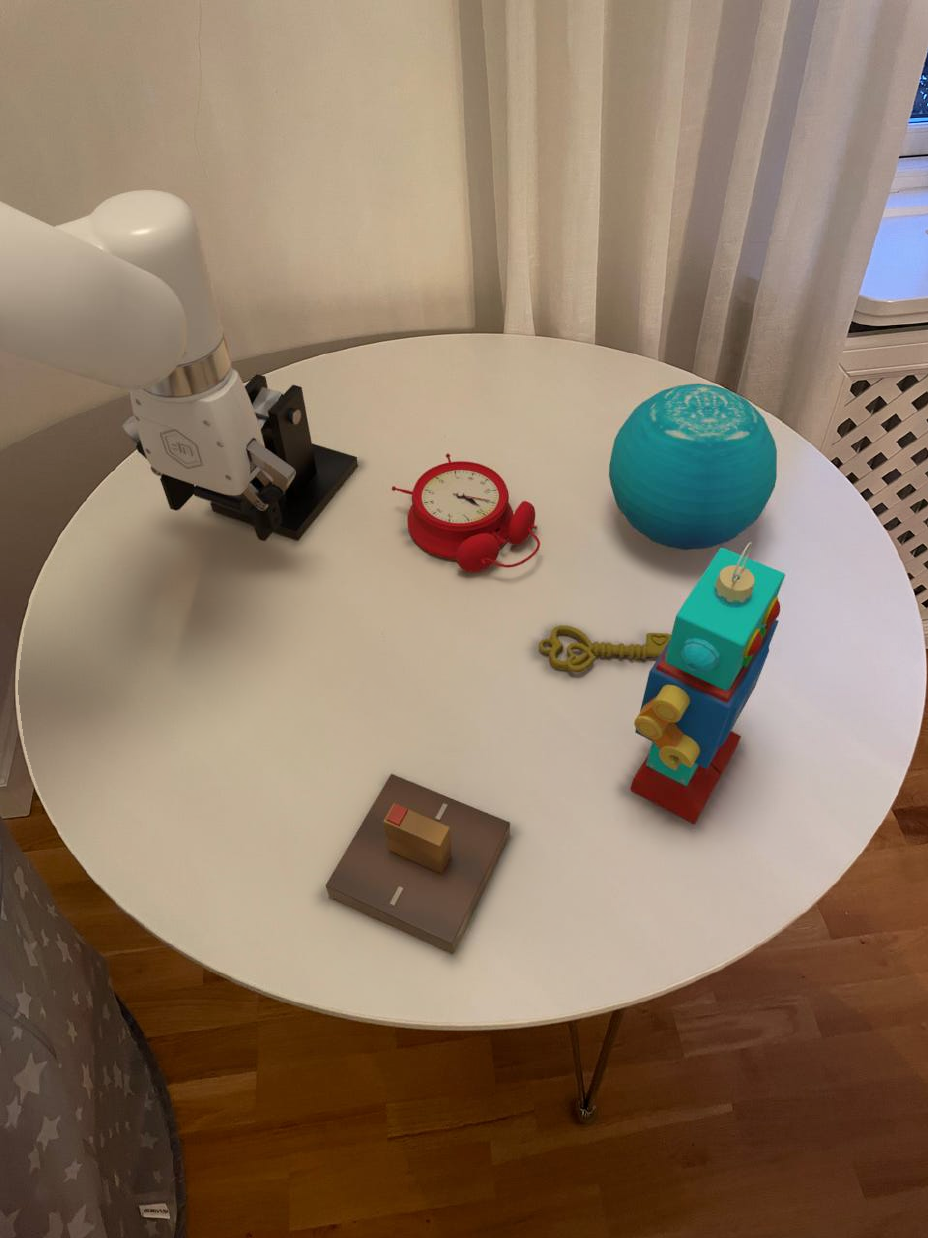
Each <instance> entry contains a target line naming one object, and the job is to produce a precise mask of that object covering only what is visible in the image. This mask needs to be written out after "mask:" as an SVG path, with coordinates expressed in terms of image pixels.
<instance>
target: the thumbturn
mask: <svg viewBox="0 0 928 1238" xmlns="http://www.w3.org/2000/svg"><path fill="white" fill-rule="evenodd" d="M383 822H384V828H385V834H386V840H387V845H388V850H389V851H392V852H394V853H396V854H398V855H401V856H403V857H405V858H407V859H409V860H412V861H414V862H416V863H418V864H421V865H423V866H425V867H427V868H429V869H432V870H434V871H436V872H438V873H441V874H442V873H443V871H444V869H445V868H446V866H447V864H448V862H449V860H450V858H451V839H450V827H448V826H446V825H444V824H441V823H439V822H437V821H434V820H432V819H430V818H428V817H425V816H423V815H421V814H418V813H416V812H414V811H411V810H409V809H407V808H404V807H402V806H400V805H397V804H395V803H394V804H393V805H392V807H391V809H390V810H389V812H388V814H387V816H386V817H385V819H384V821H383Z"/></svg>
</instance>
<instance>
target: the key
mask: <svg viewBox="0 0 928 1238" xmlns="http://www.w3.org/2000/svg"><path fill="white" fill-rule="evenodd" d="M645 635H646V637H645V638H646V639H645V640H646V644H642V645H641V644H639V643H637V644H636V645H635V644H634V643H630V644H629V645H625V644H624V643H623V642H620V643H619V644H612V642H605V641H602V642H600V643H599V641H593V643H592V641H591V640H590V639H589V637H588V636H587V635H586V634H585V633H584V632H583V631H582V630H580V629H578V628H576V627H573V626H571V625H557V626H555V627H553V628H552V630H551V632H550V635H549V636H550V637H549V638H543V639H542V640H541V641H540V642H539V644H538V648H539V651H540V652H541V653H542V654H545V655H549V656H548V657H549V658H548V660H549V664H550V666H551V667H552V668H553V669H555V670H558V671H570V672H571V673H582V672H584V671H585V670H587V669H588V668H589V667H591V665H592V664H593V663H594V662H595V661H596V657H598V656H599V655H600V657H601V658H604V657H606V658H611V656H612V655H613V656H618V658H620V659H622V658H624V656H628V658H629V659H631V660H632V659H634V658H635V659H636V660H640V659H641V660H647V658H649V657H650V658H659V656H660V655H661V653H662V651H663V650H664V648H665V647H666V645H667V644H668V642H669V641H670V638H671V634H670V633H665V632H647V633H646V634H645ZM558 636H568V637H571V638H574V639H576V640H577V641H578V642H575V641H574V642H570V643H569V644H568V646H567V647H566V654H567V656H568V658H567V660H559V659H558V658H557V656H558V655H559V654H560V653H561V652H563V649H564V645H563V643H562V642H561V641H560V640H559V639H558ZM546 645H550V646H551V647H550V648H545V647H544V646H546ZM573 650H578V651H581V652H582V653H581V654H580V655H578V656H576V654H575V653H574V652H573Z"/></svg>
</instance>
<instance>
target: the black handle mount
mask: <svg viewBox="0 0 928 1238" xmlns="http://www.w3.org/2000/svg"><path fill="white" fill-rule="evenodd" d="M244 387H245V389H246V391H247V394H248V396H249V398H250V401H251V403H252V404H253V402H254V401H255V399H256V397H257V395H258V394H259V392H260V390H261V389H262V387H264V388H268V389H269V387H268V382H267V377H266V376H265V375H261V374H258V373H256V374H255V375H254V376H253V377H252V378H251V379H250V380H249V381H248V382H246V384H244ZM268 416H269V420H270V425H271V429H269V428H268V429H267V431H266V433H265V434H264V436H263V441H264V446H265V448H266V449H268V450H269V451H270V452H272V453H273V454H275V455H276V456H277V457H279V458H280V459H282V460H283V461H284V462H286V463H287V464H289V465H290V466H291V467H293V468H294V469H295V471H296V474H295V477H294V479H293V481H292V483H291V484H290V487H289V488H288V490H287V491H286V492H285V493H284V494H283V495H282V497H281V498H280V499H279V500H278V503H279V508H280V512H281V516H282V522H281V524H280V526H279V527H278V528H277V530H275V531H273V532H272V533H274V534H278V535H280V536H283V537H287V538H288V539H289V538H290V539H292V540H295V541H299V540H300V539H301V538H302V536H303V535H304V534H305V532H307V530H308V529H309V528H310V527H311V525H312V524H313V523H314V521H315V520H316V519H317V517H319V515H320V514H321V513H322V511H323V510H324V509H325V508H326V506H327V505H328V504H329V502H330V501H331V500H332V499H333V498H334V496H335V495H336V494H337V492H338V491H340V489H341V488H342V486H344V484H345V483H346V481H347V480H348V479H349V478H350V476H351V475H352V474H353V473H354V471H355V470H356V469H357V467H358V466H359V464H358V458H357V456H354V455H351V454H349V453H345V452H342V451H339V450H335V449H332V448H329V447H326V446H322V445H320V444H316V443H312V437H311V432H310V425H309V420H308V415H307V409H306V403H305V398H304V393H303V387H302V386H300V385H297V384H292V385H291V386H290V387H289V388H288V389H287V390H286V391H285V392H284V393H283V395H282V396H281V398H280V399H279V400H278V401H277V402H276V403H275V404H274V405H273V406H272V407H271V408H270V409H269V410H268ZM251 484H252V485H253V486H254V487H255V488H256V489H257V491H258V492H259V493H260V492H261V491H262V490H263V489H264V488H265V486H264V485H263V484H262V483H261V482H260V481H259V479H258V478H257V477H255V478H254V479H253V480H252V481H251ZM234 496H237V497H240V498H243V499H245V500H246V507H245V509H244V510H243V511H237V510H234V509H231V508H229V507H226V506H223V505H220V504H217V503H214V502H211V501H209V502H210V503H209V504H210V507H211V511H212V512H214V513H216V514H218V515H222V516H225V517H228V518H231V519H234V520H237V521H239V522H242V523H246V524H249V525H251V526H254V524H253V520H252V516H251V512H250V509H251V507H252V506H253V504H252V503H251V502H250V500H249V499H248V498H247V497H246V496H245V495H244V494H243V493H242V494H240V495H234Z"/></svg>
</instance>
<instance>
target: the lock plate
mask: <svg viewBox="0 0 928 1238" xmlns="http://www.w3.org/2000/svg"><path fill="white" fill-rule="evenodd" d="M394 803H395V804H397V805H400V806H402V807H404V808H407V809H409V810H411V811H414V812H416V813H418V814H421V815H423V816H425V817H428V818H430V819H432V820H434V821H437V822H439V823H441V824H444V825H446V826H448V827H450V839H451V858H450V860H449V862H448V864H447V866H446V868H445V869H444V871H443V873H442V874H441V873H438V872H436V871H434V870H432V869H429V868H427V867H425V866H423V865H421V864H418V863H416V862H414V861H412V860H409V859H407V858H405V857H403V856H401V855H398V854H396V853H394V852H392V851H389V850H388V845H387V840H386V834H385V828H384V822H383V821H384V819H385V817H386V816H387V814H388V812H389V810H390V809H391V807H392V805H393V804H394ZM510 833H511V822H510V821H508V820H505V819H502V818H500V817H497V816H496V815H493V814H490V813H488V812H486V811H483V810H482V809H481V810H480V809H478V808H476V807H474V806H471V805H469V804H466V803H464V802H461V801H459V800H457V799H454V798H451V797H449V796H446V795H444V794H441V793H439V792H437V791H434V790H432V789H430V788H427V787H425V786H422V785H420V784H417V783H415V782H412V781H410V780H409V779H406V778H403V777H401V776H398V775H396V774H393V773H390V775H389V777H388V778H387V780H386V782H385V784H384V785H383V787H382V788H381V790H380V791H379V793H378V795H377V797H376V799H375V800H374V802H373V804H372V805H371V807H370V809H369V811H368V812H367V815H366V816H365V817H364V819H363V821H362V822H361V824H360V826H359V828H358V829H357V831H356V833H355V835H354V836H353V838H352V839H351V841H350V843H349V845H348V847H347V848H346V850H345V852H344V853H343V855H342V857H341V859H340V860H339V862H338V863H337V865H336V867H335V868H334V870H333V872H332V874H331V875H330V877H329V879H328V881H327V882H326V884H325V888H326V892H327V894H328V897H329V898H330V899H333V900H335V901H337V902H339V903H341V904H343V905H346V906H347V907H350V908H352V909H353V910H354V909H355V910H356V911H358V912H360V913H363V914H365V915H367V916H369V917H371V918H373V919H376V920H378V921H380V922H383V923H384V924H386V925H388V926H391V927H393V928H396V929H397V930H399V931H402V932H404V933H406V934H408V935H410V936H412V937H415V938H417V939H419V940H421V941H423V942H425V943H428V944H429V945H432V946H434V947H435V948H439V949H440V950H442V951H445V952H447V953H448V954H451V955H453V954H454V953H455V952H456V949H457V947H458V945H459V943H460V941H461V938H462V937H463V935H464V933H465V930H466V929H467V926H468V924H469V922H470V919H471V917H472V916H473V913H474V912H475V909H476V907H477V905H478V903H479V901H480V899H481V896H482V894H483V892H484V890H485V888H486V886H487V883H488V882H489V879H490V878H491V876H492V873H493V871H494V869H495V867H496V865H497V863H498V861H499V858H500V856H501V854H502V852H503V849H504V848H505V846H506V843H507V841H508V839H509V837H510V835H511V834H510Z"/></svg>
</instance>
